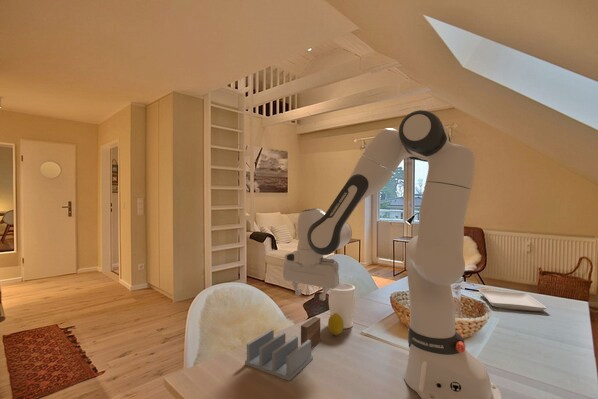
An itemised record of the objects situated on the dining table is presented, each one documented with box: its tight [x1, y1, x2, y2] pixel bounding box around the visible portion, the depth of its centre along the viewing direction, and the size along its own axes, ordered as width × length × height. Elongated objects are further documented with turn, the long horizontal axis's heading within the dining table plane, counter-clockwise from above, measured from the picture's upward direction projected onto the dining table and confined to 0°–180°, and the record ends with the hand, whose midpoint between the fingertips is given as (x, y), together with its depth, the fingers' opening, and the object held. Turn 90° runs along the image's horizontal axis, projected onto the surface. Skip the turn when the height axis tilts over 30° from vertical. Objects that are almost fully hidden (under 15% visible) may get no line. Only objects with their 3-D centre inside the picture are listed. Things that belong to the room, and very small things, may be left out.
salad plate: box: [478, 289, 547, 312], centre depth 140 cm, size 21×21×3 cm
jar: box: [328, 282, 357, 330], centre depth 118 cm, size 11×10×15 cm
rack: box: [244, 328, 314, 382], centre depth 91 cm, size 16×13×6 cm
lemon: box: [327, 313, 344, 336], centre depth 109 cm, size 6×6×8 cm
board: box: [300, 316, 321, 349], centre depth 101 cm, size 2×9×8 cm, turn 148°
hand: (310, 297), depth 101 cm, fingers open, 8 cm apart
